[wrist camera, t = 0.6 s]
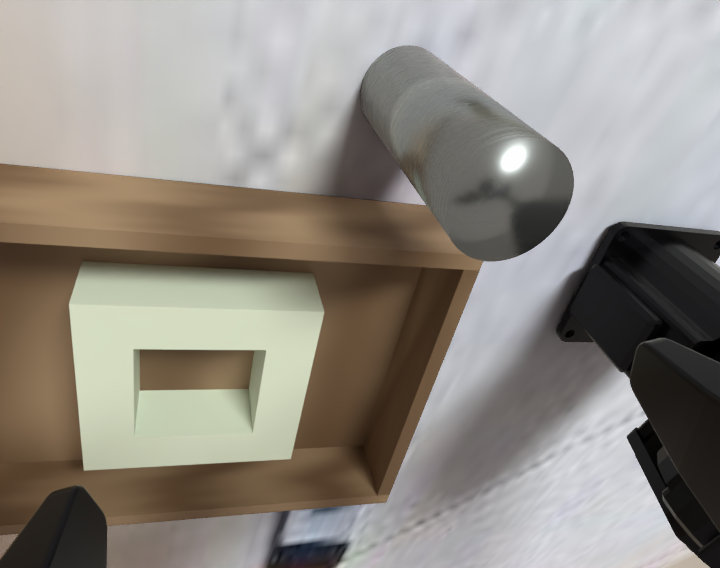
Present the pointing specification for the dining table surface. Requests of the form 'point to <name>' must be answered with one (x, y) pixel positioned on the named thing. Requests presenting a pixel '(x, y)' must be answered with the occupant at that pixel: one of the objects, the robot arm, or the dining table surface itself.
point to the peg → (466, 155)
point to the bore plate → (190, 332)
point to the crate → (222, 367)
